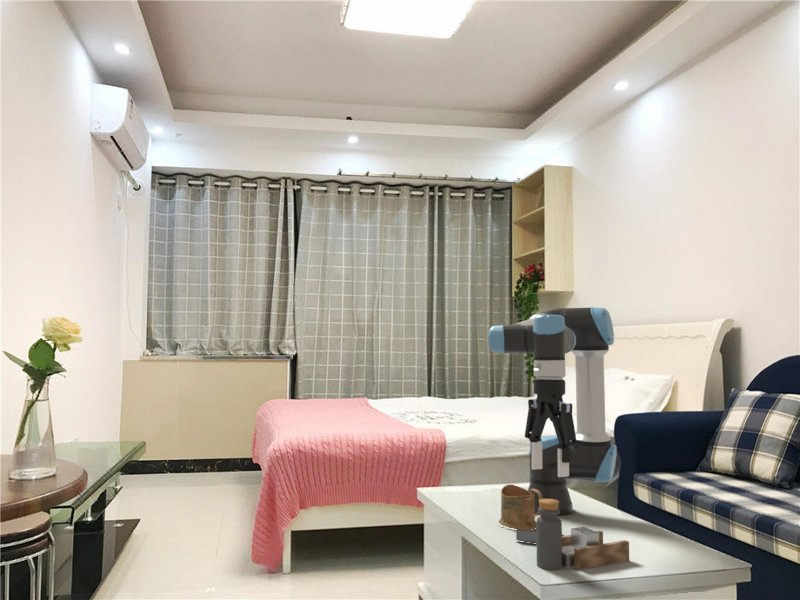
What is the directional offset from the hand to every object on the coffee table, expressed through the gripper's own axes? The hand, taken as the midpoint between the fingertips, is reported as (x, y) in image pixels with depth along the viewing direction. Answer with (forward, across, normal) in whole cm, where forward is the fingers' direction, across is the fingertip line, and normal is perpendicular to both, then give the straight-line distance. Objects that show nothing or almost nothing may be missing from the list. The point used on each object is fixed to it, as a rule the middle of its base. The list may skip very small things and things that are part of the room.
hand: (549, 472), depth 148 cm
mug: (+22, -28, +13) cm, 38 cm away
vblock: (+22, -12, +8) cm, 26 cm away
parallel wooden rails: (+22, 0, +12) cm, 25 cm away
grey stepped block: (+22, 0, +7) cm, 23 cm away
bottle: (+22, 0, 0) cm, 22 cm away
